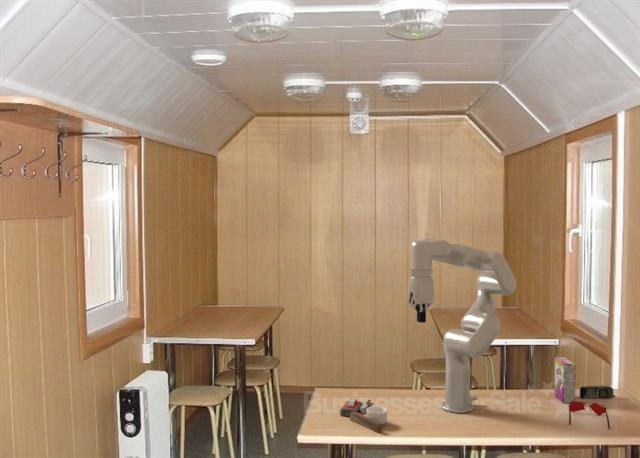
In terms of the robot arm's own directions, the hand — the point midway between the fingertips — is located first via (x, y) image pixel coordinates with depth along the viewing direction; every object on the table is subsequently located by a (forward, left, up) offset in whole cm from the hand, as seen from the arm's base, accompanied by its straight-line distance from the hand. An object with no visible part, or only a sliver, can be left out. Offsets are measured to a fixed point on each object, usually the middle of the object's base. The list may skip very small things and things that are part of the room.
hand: (421, 321), depth 248 cm
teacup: (+16, -6, -37) cm, 41 cm away
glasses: (-50, +38, -38) cm, 73 cm away
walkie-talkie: (+14, -22, -38) cm, 46 cm away
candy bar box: (-64, +18, -37) cm, 76 cm away
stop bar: (+22, -6, -37) cm, 44 cm away
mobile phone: (-78, +25, -38) cm, 90 cm away
